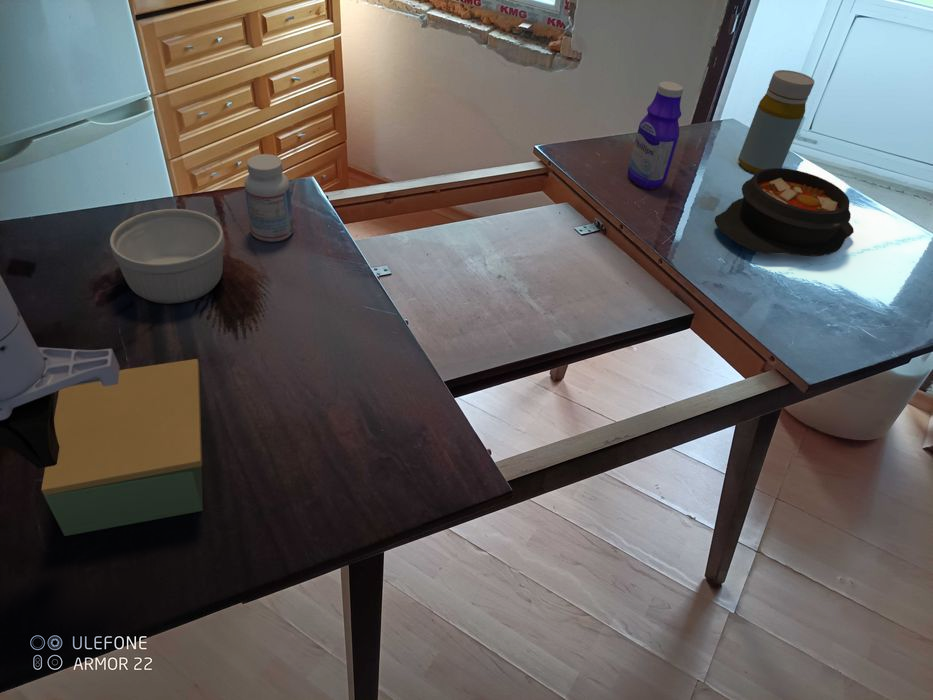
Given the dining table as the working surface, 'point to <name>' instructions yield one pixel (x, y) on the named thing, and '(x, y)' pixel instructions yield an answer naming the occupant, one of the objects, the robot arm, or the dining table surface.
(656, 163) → the bottle
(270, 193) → the pill bottle
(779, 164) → the bottle
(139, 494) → the green open cubby
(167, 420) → the yellow box lid
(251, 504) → the dining table surface
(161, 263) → the ramekin
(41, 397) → the robot arm
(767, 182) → the casserole
